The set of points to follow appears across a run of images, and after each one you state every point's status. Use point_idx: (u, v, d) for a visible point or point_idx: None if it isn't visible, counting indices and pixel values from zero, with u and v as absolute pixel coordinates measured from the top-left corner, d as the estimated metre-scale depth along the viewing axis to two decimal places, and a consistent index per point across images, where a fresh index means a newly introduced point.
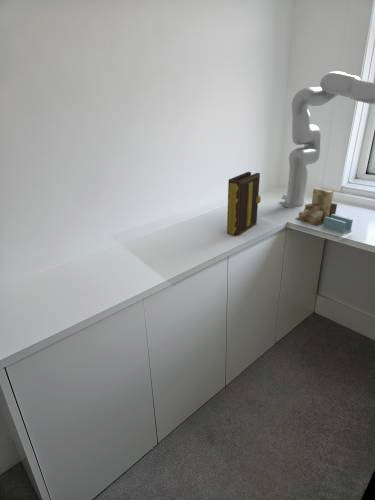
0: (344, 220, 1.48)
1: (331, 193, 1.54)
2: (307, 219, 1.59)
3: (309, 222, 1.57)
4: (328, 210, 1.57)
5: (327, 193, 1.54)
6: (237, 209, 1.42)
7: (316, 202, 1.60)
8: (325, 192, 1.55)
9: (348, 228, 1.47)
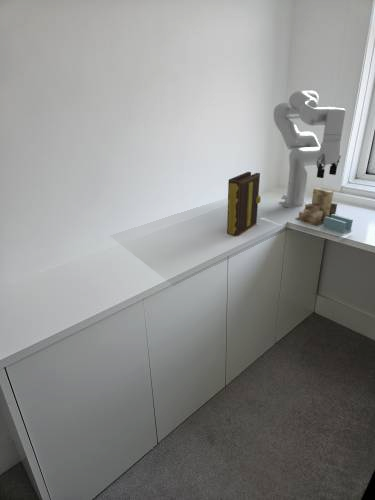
0: (344, 220, 1.48)
1: (331, 193, 1.54)
2: (307, 219, 1.59)
3: (309, 222, 1.57)
4: (328, 210, 1.57)
5: (327, 193, 1.54)
6: (237, 209, 1.42)
7: (316, 202, 1.60)
8: (325, 192, 1.55)
9: (348, 228, 1.47)
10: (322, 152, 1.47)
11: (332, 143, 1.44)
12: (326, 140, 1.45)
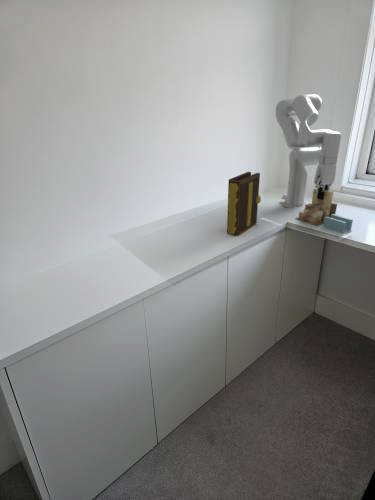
0: (344, 220, 1.48)
1: (331, 193, 1.54)
2: (307, 219, 1.59)
3: (309, 222, 1.57)
4: (328, 210, 1.57)
5: (327, 193, 1.54)
6: (237, 209, 1.42)
7: (316, 202, 1.60)
8: (325, 192, 1.55)
9: (348, 228, 1.47)
10: (318, 174, 1.51)
11: (328, 165, 1.49)
12: (322, 162, 1.49)
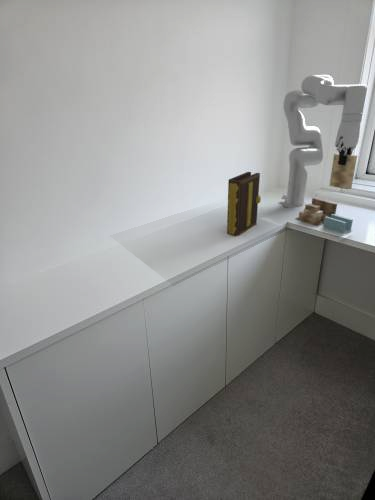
0: (344, 220, 1.48)
1: (355, 157, 1.35)
2: (307, 219, 1.59)
3: (309, 222, 1.57)
4: (351, 177, 1.39)
5: (350, 157, 1.36)
6: (237, 209, 1.42)
7: (337, 169, 1.42)
8: (348, 156, 1.37)
9: (348, 228, 1.47)
10: (341, 134, 1.33)
11: (352, 124, 1.30)
12: (345, 120, 1.31)
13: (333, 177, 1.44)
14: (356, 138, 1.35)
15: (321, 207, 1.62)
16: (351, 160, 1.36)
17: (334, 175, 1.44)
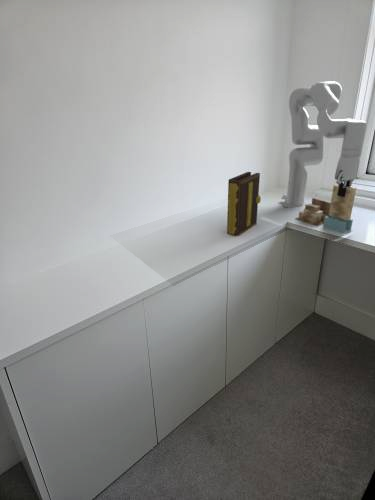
0: (344, 220, 1.48)
1: (354, 190, 1.38)
2: (307, 219, 1.59)
3: (309, 222, 1.57)
4: (350, 209, 1.42)
5: (349, 190, 1.39)
6: (237, 209, 1.42)
7: (336, 200, 1.45)
8: (347, 189, 1.39)
9: (348, 228, 1.47)
10: (340, 168, 1.35)
11: (351, 158, 1.33)
12: (345, 155, 1.34)
13: (333, 207, 1.47)
14: (355, 171, 1.38)
15: (321, 207, 1.62)
16: (350, 193, 1.39)
17: (334, 206, 1.47)
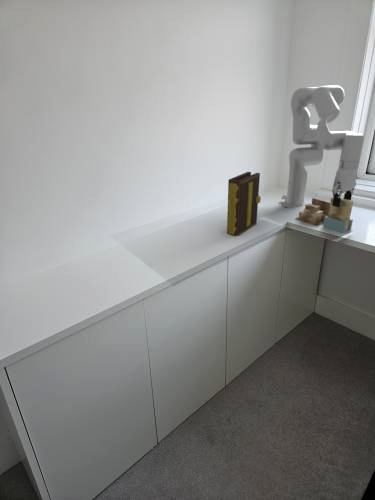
0: None
1: (351, 203, 1.41)
2: (307, 219, 1.59)
3: (309, 222, 1.57)
4: (347, 221, 1.44)
5: (346, 203, 1.41)
6: (237, 209, 1.42)
7: (334, 212, 1.47)
8: (344, 201, 1.42)
9: (348, 228, 1.47)
10: (338, 179, 1.38)
11: (349, 170, 1.35)
12: (343, 167, 1.36)
13: None
14: (353, 182, 1.40)
15: (321, 207, 1.62)
16: (347, 205, 1.41)
17: (331, 217, 1.49)
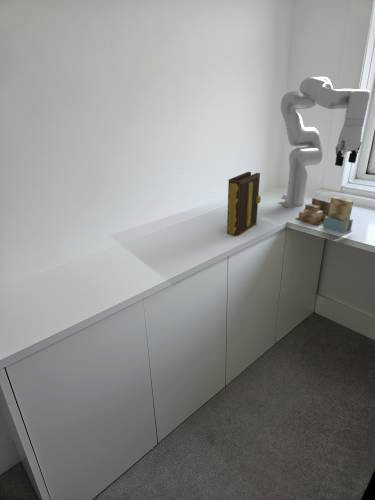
0: None
1: (351, 203, 1.41)
2: (307, 219, 1.59)
3: (309, 222, 1.57)
4: (347, 221, 1.44)
5: (346, 203, 1.41)
6: (237, 209, 1.42)
7: (334, 212, 1.47)
8: (344, 201, 1.42)
9: (348, 228, 1.47)
10: (342, 138, 1.36)
11: (354, 128, 1.34)
12: (347, 125, 1.34)
13: None
14: (357, 142, 1.39)
15: (321, 207, 1.62)
16: (347, 205, 1.41)
17: (331, 217, 1.49)
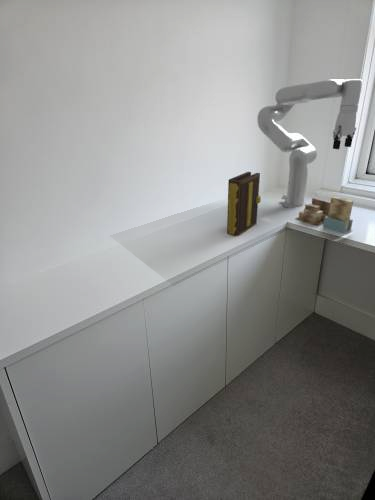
0: None
1: (351, 203, 1.41)
2: (307, 219, 1.59)
3: (309, 222, 1.57)
4: (347, 221, 1.44)
5: (346, 203, 1.41)
6: (237, 209, 1.42)
7: (334, 212, 1.47)
8: (344, 201, 1.42)
9: (348, 228, 1.47)
10: (339, 123, 1.50)
11: (349, 114, 1.47)
12: (343, 111, 1.48)
13: None
14: (352, 127, 1.52)
15: (321, 207, 1.62)
16: (347, 205, 1.41)
17: (331, 217, 1.49)
